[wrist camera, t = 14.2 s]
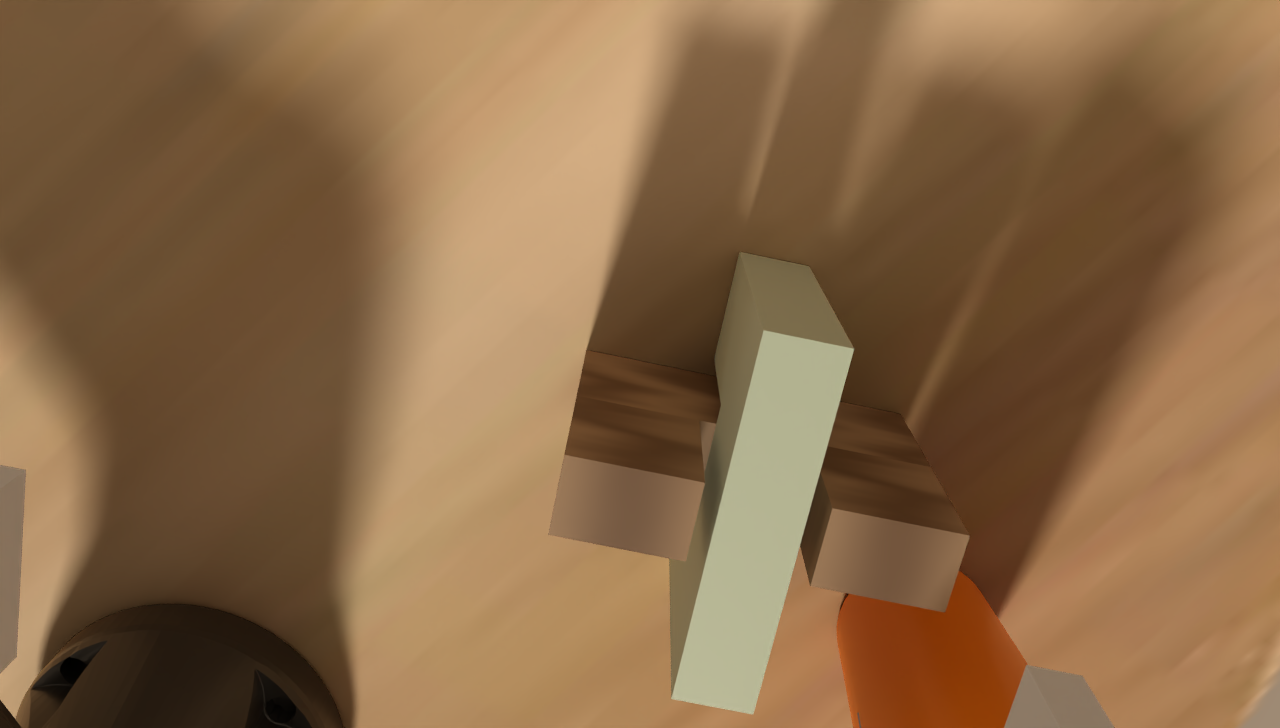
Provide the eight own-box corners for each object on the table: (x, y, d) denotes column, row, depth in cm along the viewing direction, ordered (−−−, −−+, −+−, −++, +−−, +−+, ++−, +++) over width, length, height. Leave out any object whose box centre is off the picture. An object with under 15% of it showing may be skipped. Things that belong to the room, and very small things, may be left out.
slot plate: (733, 559, 53) (753, 714, 42) (669, 546, 53) (671, 699, 41) (809, 266, 49) (854, 349, 37) (739, 251, 49) (763, 330, 37)
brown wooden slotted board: (573, 413, 51) (548, 534, 40) (586, 350, 50) (564, 454, 39) (882, 476, 52) (944, 612, 40) (900, 413, 51) (969, 535, 39)
